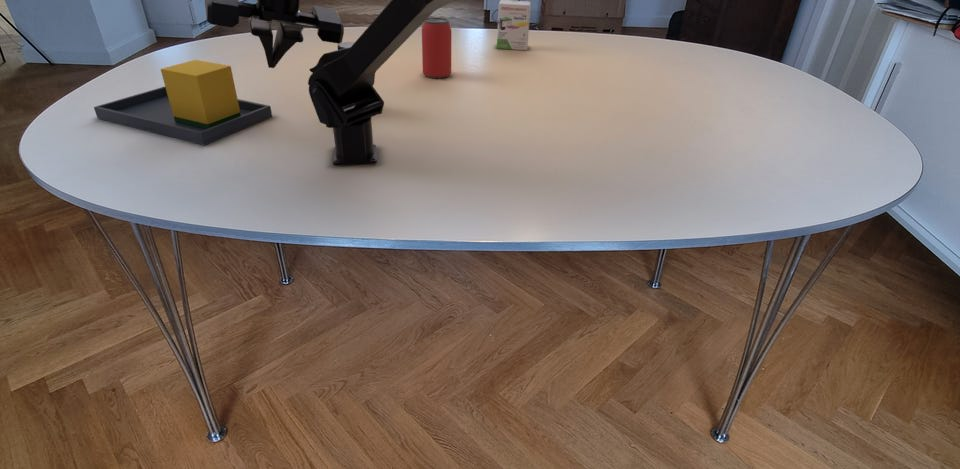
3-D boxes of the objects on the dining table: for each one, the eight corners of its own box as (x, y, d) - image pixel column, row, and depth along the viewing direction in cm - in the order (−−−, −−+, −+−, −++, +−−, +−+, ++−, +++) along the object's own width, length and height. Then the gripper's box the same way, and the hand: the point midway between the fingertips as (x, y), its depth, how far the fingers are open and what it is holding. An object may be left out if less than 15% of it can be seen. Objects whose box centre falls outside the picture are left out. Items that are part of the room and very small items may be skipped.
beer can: (436, 69, 129) (435, 15, 122) (457, 75, 125) (457, 20, 119) (416, 74, 124) (414, 19, 118) (437, 80, 121) (437, 23, 114)
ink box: (496, 48, 149) (498, 2, 143) (497, 44, 153) (499, -1, 147) (527, 50, 148) (530, 4, 142) (527, 46, 152) (531, 1, 146)
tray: (272, 117, 98) (270, 105, 97) (204, 145, 86) (201, 132, 85) (172, 95, 106) (169, 84, 105) (97, 118, 94) (93, 107, 93)
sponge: (241, 117, 95) (230, 65, 91) (209, 130, 90) (196, 75, 85) (207, 110, 98) (195, 59, 93) (174, 122, 93) (160, 68, 88)
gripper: (337, -43, 84) (321, 47, 95) (203, -74, 75) (201, 29, 85) (353, -8, 78) (333, 84, 88) (209, -37, 69) (205, 70, 79)
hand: (270, 66), depth 85 cm, fingers closed
